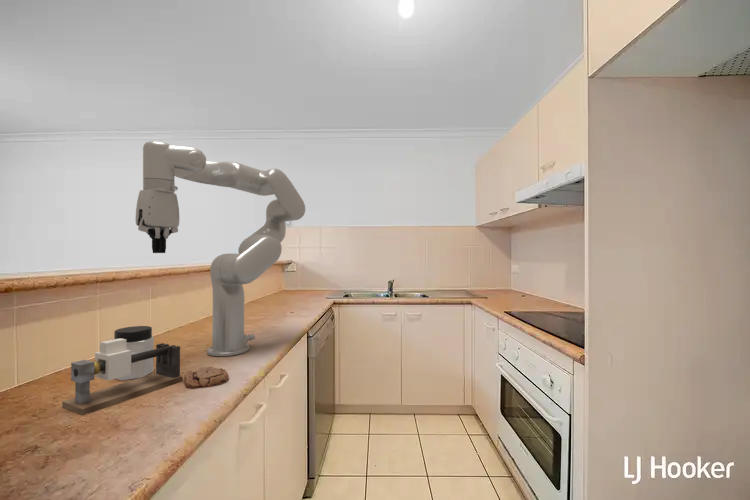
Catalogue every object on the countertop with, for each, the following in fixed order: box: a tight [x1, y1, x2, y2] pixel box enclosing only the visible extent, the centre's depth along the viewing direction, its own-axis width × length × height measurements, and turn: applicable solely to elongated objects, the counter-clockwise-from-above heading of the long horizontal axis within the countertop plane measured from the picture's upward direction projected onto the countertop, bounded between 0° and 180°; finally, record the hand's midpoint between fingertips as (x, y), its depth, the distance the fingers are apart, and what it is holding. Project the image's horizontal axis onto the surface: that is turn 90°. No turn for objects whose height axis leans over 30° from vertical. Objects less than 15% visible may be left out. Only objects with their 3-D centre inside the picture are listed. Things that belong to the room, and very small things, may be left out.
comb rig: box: [61, 342, 184, 416], centre depth 81 cm, size 21×8×9 cm, turn 154°
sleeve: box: [94, 338, 131, 381], centre depth 78 cm, size 4×5×8 cm
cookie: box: [183, 366, 230, 389], centre depth 88 cm, size 10×11×3 cm
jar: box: [113, 325, 155, 382], centre depth 92 cm, size 9×8×12 cm
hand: (159, 252), depth 99 cm, fingers closed
